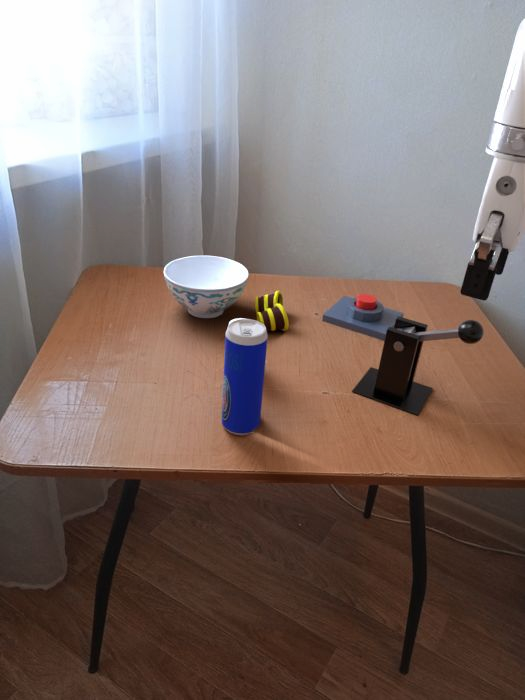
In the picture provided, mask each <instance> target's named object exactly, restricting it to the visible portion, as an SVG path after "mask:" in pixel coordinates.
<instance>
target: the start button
mask: <svg viewBox="0 0 525 700" xmlns="http://www.w3.org/2000/svg"><path fill="white" fill-rule="evenodd" d="M356 297H357V299H356V307H357V308H360V309H363V310H375V307H376V302H377V301H378V299H377V297H376V296H374V295H372V294H368V293H360V294H357V296H356Z"/></svg>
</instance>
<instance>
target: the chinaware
mask: <svg viewBox="0 0 525 700" xmlns="http://www.w3.org/2000/svg"><path fill="white" fill-rule="evenodd" d="M163 275H164V281H165V284H166V286H167V289H168V291H169V293H170V294H171V296H172V298H174V300H175V301H176V302H177V303H178V304H180V305H181V306H182V307H183V308H185V309H186V311H187V312H188V314H190V315H191V316H193V317H196V318H200V319H213V318H217V317H219V316H221V315H223V313H224V311H225V310H227V309H229V308H230V307H232V305H234V304H235V303H236V302H237V301H238V300H239V299H240V297H241V296H242V294H243V292H244V290H245V288H246V286H247V283H248V279H249V270H248V269H247V268H246V267H245V266H244V265H243V264H242V263H240V262H238V261H236V260H234V259H233V260H232V259H230V258H227V257H223V256H216V255H215V256H214V255H191V256H185V257H181V258H177V259H174V260H172V261H170V262H168V263H167V264H165V266H164V269H163Z"/></svg>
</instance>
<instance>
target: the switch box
mask: <svg viewBox="0 0 525 700" xmlns="http://www.w3.org/2000/svg"><path fill="white" fill-rule="evenodd" d="M356 299H357V296H355V297H351V296H347V295H343V296H342V297H340V299H338V301H336V302H335V303H334V304H333V305H332V306H331V307H330V308H329V309H327V310H326V311H325V312H324V313H323V314H322V322H324V323H327V324H330V325H334V326H337V327H340V328H343V329H346V330H349V331H353V332H355V333H359V334H361V335H366V336H368V337H371V338H375V339H378V340H381V341H385V336H386V332H387V329H388V328H389V327H392V328H394V326H395V321H396V318H397V317H398V316H399V317H403V318H404V314H405V313H404V312H401V311H398V310H394V309H391V308H388V307H385V306H384V305H383V303H382V302H380V301H379V300H377V302H376V307H375V310H363V309H360V308H357V307H356Z"/></svg>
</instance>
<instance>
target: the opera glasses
mask: <svg viewBox="0 0 525 700" xmlns="http://www.w3.org/2000/svg"><path fill="white" fill-rule="evenodd" d="M283 298H284V297H283V294H282V292H281V291H280V290H276V291H275V292H274V293H272V294H269V293H267V294H265V295H261V296H255V298H254V301H255V302H254V303H255V304H254V306H255V308H254V309H255V313H256V321H258V322H260V323H262V324H263V325H264V326H265V327H266V331H267V332H268V331H271V332H275V331H276V330H281V331H282V332H286V331H287V330H289V326H290V322H289V318H288V314H287V312H286V309H285V308H284V299H283Z"/></svg>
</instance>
